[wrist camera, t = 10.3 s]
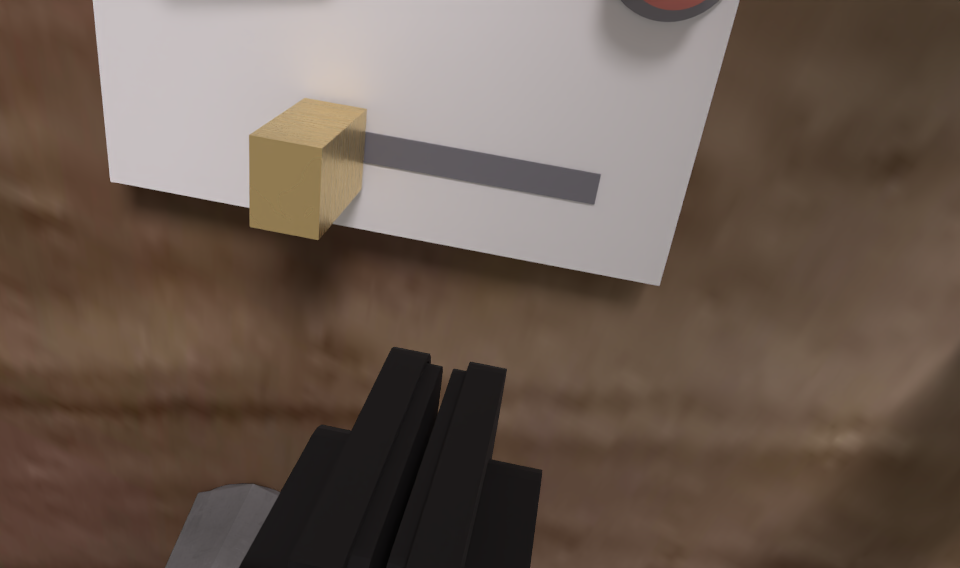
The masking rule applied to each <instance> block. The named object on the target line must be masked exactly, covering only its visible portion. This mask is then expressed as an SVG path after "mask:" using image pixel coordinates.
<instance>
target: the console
mask: <svg viewBox="0 0 960 568" xmlns="http://www.w3.org/2000/svg"><path fill="white" fill-rule="evenodd" d="M739 1H740V0H705V1H703V2H701V3H700V4H698V5H695V6H693V7H690V8H687V9H682V10H664V9H660V8H657V7H654V6H652V5H650V4H648V3H647V2H645V1H644V0H93V8H94V18H95V28H96V38H97V49H98V59H99V69H100V80H101V90H102V100H103V110H104V121H105V131H106V141H107V152H108V162H109V172H110V181H111V182H116V183H121V184H127V185H132V186H137V187H142V188H148V189H153V190H158V191H163V192H169V193H174V194H179V195H184V196H190V197H195V198H200V199H205V200H210V201H216V202H221V203H226V204H231V205H237V206H242V207H247V208H249V135H250V134H251V133H253V132H254V131H256V130H257V129H259V128H260V127H262V126H263V125H265V124H266V123H268V122H269V121H271V120H272V119H274V118H275V117H277V116H278V115H280V114H281V113H283V112H284V111H286V110H287V109H289V108H290V107H292V106H293V105H295V104H296V103H298V102H299V101H301V100H302V99H304V98H309V99H314V100H320V101H325V102H331V103H336V104H342V105H348V106H353V107H359V108H364V109H367V116H366V130H365V145H364V160H363V175H362V189H361V190H360V192H359V193H358V194H357V195H356V196H355V198H354V199H353V200H352V201H351V202H350V203H349V205H348V206H347V207H346V208H345V209H344V211H343V212H342V213H341V214H340V215H339V216H338V218H337V219H336V220H335V221H334V222H333V224H336V225H342V226H347V227H352V228H357V229H363V230H368V231H373V232H378V233H384V234H389V235H394V236H399V237H405V238H410V239H415V240H420V241H426V242H431V243H436V244H441V245H447V246H452V247H457V248H462V249H468V250H473V251H478V252H483V253H489V254H494V255H499V256H504V257H510V258H515V259H520V260H525V261H531V262H536V263H541V264H546V265H552V266H557V267H562V268H567V269H573V270H578V271H583V272H588V273H594V274H599V275H604V276H609V277H615V278H620V279H625V280H630V281H636V282H641V283H646V284H651V285H656V286H660V282H661V279H662V275H663V271H664V268H665V264H666V261H667V257H668V254H669V250H670V246H671V243H672V239H673V236H674V232H675V229H676V225H677V222H678V218H679V214H680V211H681V207H682V204H683V200H684V197H685V193H686V189H687V186H688V182H689V179H690V175H691V172H692V168H693V165H694V161H695V157H696V154H697V150H698V147H699V143H700V140H701V136H702V132H703V129H704V125H705V122H706V118H707V115H708V111H709V108H710V104H711V100H712V97H713V93H714V90H715V86H716V83H717V79H718V75H719V72H720V68H721V65H722V61H723V58H724V54H725V51H726V47H727V43H728V40H729V36H730V33H731V29H732V26H733V22H734V18H735V15H736V11H737V8H738V4H739Z"/></svg>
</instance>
